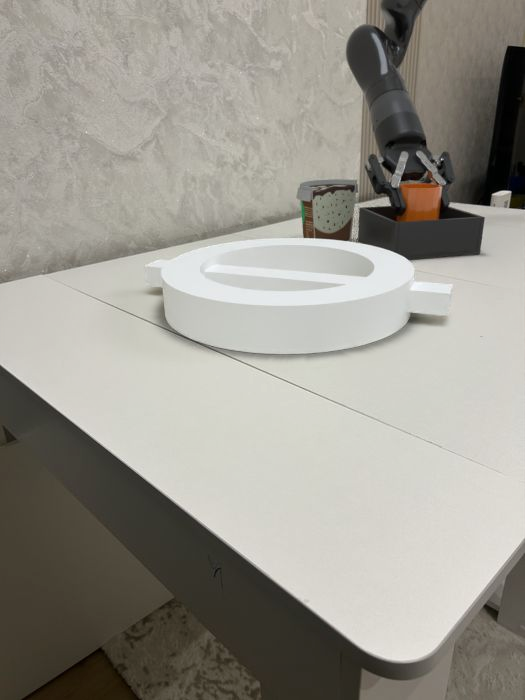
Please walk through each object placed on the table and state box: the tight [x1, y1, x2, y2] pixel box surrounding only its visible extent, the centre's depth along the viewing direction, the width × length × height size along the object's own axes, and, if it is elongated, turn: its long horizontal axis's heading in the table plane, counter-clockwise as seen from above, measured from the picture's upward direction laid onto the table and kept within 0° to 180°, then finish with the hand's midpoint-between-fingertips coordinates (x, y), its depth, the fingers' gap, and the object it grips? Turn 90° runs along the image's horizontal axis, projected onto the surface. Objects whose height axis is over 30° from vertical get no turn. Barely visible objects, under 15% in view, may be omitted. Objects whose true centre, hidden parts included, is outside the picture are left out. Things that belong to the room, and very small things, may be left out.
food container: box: [295, 178, 359, 242], centre depth 90 cm, size 12×6×10 cm, turn 134°
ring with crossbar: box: [143, 237, 454, 355], centre depth 63 cm, size 28×28×5 cm
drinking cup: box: [396, 182, 442, 222], centre depth 86 cm, size 6×6×9 cm
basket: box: [357, 205, 486, 261], centre depth 87 cm, size 14×14×6 cm
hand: (423, 211), depth 84 cm, fingers closed on drinking cup, 6 cm apart
